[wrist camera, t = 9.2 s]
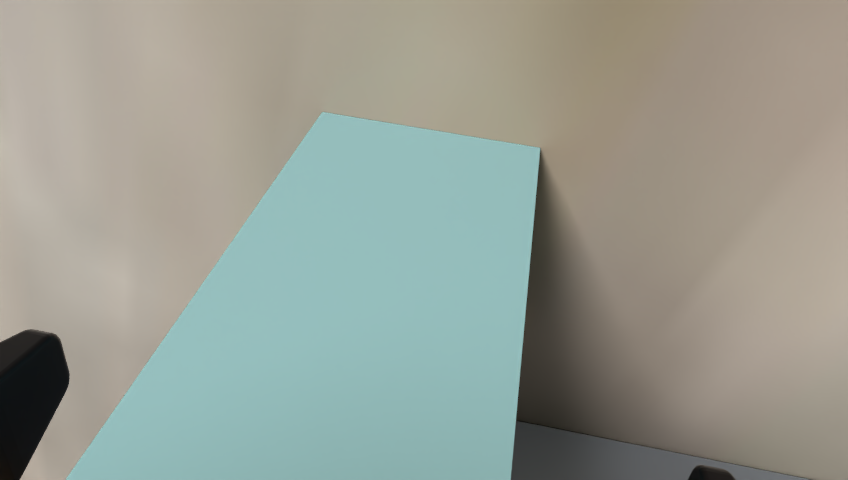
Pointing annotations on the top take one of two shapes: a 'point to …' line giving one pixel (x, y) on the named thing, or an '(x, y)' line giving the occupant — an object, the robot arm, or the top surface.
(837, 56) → the top surface
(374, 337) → the plug
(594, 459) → the socket plate
